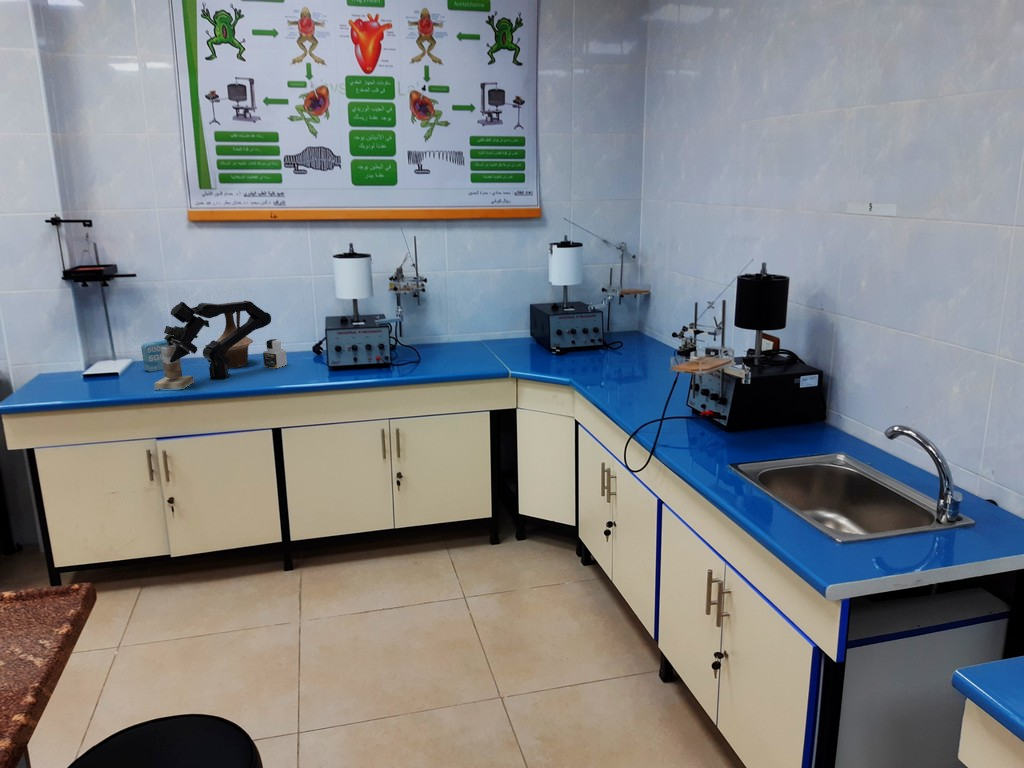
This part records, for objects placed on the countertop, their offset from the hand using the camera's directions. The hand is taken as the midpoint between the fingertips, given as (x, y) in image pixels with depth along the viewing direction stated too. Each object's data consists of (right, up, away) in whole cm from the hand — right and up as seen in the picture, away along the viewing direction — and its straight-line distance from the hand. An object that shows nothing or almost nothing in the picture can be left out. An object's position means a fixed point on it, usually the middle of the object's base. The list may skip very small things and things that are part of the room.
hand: (167, 361), depth 307 cm
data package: (-17, -3, +31) cm, 36 cm away
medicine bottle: (+33, -2, +34) cm, 47 cm away
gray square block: (+1, -6, +3) cm, 7 cm away
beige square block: (+1, -10, +4) cm, 11 cm away
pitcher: (+14, -1, +37) cm, 40 cm away
